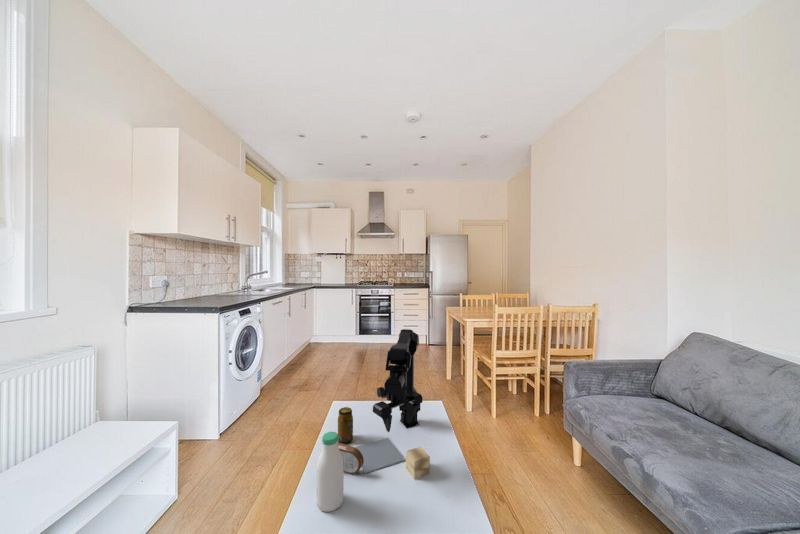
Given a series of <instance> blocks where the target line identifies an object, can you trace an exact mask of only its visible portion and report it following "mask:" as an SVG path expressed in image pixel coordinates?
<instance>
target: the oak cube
mask: <svg viewBox="0 0 800 534" xmlns="http://www.w3.org/2000/svg"><path fill="white" fill-rule="evenodd" d="M430 466H431V456H430V455H429V454H428V452H427V451H426V450H425V449H424V448H423V447H422V446H417V447H415V448H412V449H408V450H406V451H405V469H406V470H407V472H408V473H409V475H410V476H411V477H412V478H413V480H416V479H417V480H418V479H420V478H422V477H424V476H427V475H430V474H431V470H430V469H431V467H430Z"/></svg>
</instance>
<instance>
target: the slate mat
mask: <svg viewBox="0 0 800 534" xmlns="http://www.w3.org/2000/svg"><path fill="white" fill-rule="evenodd" d="M354 447H355V448H357V449H358V450H359V451H360V452H361V453H362V455H363V459H364V463H363V466H362V467H361V468H362V470H363V471H364V473H365V474H367V475H368V474H370V473H372V472H375V471H378V470H381V469H385V468H388V467H390V466H394V465H396V464H400V463H403V462H406V458H404V456H403V454H401V452H400V451H399V450H398V449H397V448H396V445H394V444H393V442H392V441H391V440H390V438H389V437H385V438H382V439H378V440H374V441H371V442H368V443H365V444H362V445H358V446H354Z"/></svg>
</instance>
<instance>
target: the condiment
mask: <svg viewBox="0 0 800 534" xmlns="http://www.w3.org/2000/svg"><path fill="white" fill-rule="evenodd" d="M337 416H338V417H337V434H338V443H340V444H344V445H349V446H353V445H355V444H357V443H359V442H360V440H359V439H357V438H356V437H355V436H353V434H354V416H353V410H352V408H351V407H348V406H346V407H345V406H343V407H341V408H339V410H338V415H337Z"/></svg>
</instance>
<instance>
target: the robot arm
mask: <svg viewBox="0 0 800 534" xmlns="http://www.w3.org/2000/svg"><path fill="white" fill-rule="evenodd" d="M418 346H420V335H419V334H417V333H416V332H414V330H413V329H409V328H408V329H407V328H402V329H400V332H399V334H398V339H397V343H396V344H393V345H391V346H390V348H389V350H387V356H386V363H385V371H389V374H388V377H387V378H386V380H385V382H384V385H383V386H381V387H378V388H376V394H377V395H376V396H377V397H378V398H381V399H386V400H387V401H390V402H389V403H387V402H385V401H383V400H382V401H379V402H375V403H374V404H373V405H372V413H373V414H375V415H376V416H378V417H379V418H381V419H382V420H383V421H382V422H383V425H384V427H385V430H386V432H387V433H390V431H391V427H392V420H393V415H392V413H393V409H396V408H399V409H398V410H399V411H401V413H400V420H399V422H400V423H401V424H402V425H403V426H404V427H405V428H406V429H408V428H411V427H415V426H419V425H420V423H419V421H418V413H419V412H420V411H421V404H422V403H423V395H422V394H421V393H419V392H418V391H417V390H416V388H415V353H416V352H417V350H418Z"/></svg>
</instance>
